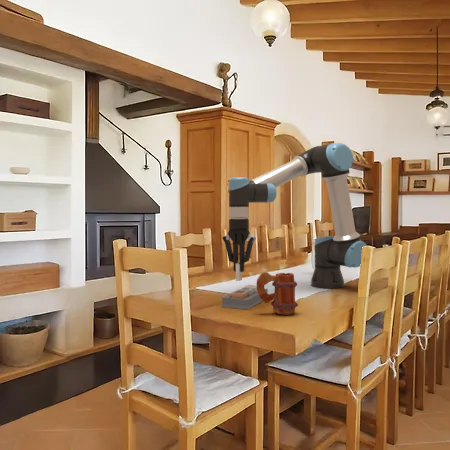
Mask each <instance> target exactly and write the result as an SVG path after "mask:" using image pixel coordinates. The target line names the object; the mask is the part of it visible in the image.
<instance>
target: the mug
mask: <svg viewBox="0 0 450 450" xmlns="http://www.w3.org/2000/svg"><path fill="white" fill-rule="evenodd" d="M270 282H272V283H271V284H272V286H273V287H274V292H272V293H268V292H267V293H266V292H265V289H266V288H265V286H266V285H267V284H269V283H270ZM255 285H257V291H258V295H259V296H260V298H261V299H262V300H263V301H262V302H264V303H265V304H269V303H270V305H271V306H272V310H273V312H274V313H276V314H278V315H281V316H290V315H293V314H294V313H295V311H296V308H297V307H299V304H298V303H297V302H296V298H295V297H296V296H295V295H296V294H295V293H296V287H297V286H298V282H297V281H296V280H295V275H294V273H292V272H286V273H285V272H278V273H275V275H273V274H270V273H269V272H268V271H263V272H261V273H260V274H259V276H258V278H257V279H256V284H255Z"/></svg>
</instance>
